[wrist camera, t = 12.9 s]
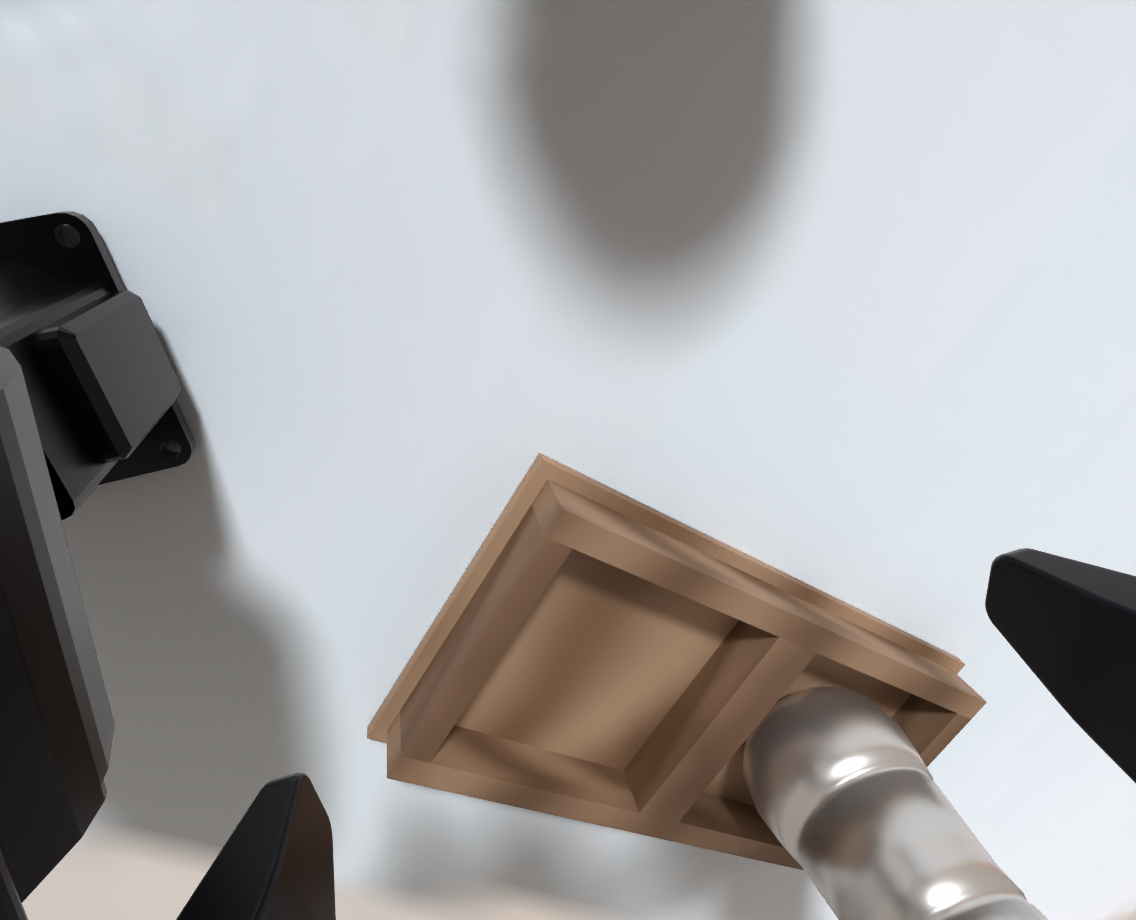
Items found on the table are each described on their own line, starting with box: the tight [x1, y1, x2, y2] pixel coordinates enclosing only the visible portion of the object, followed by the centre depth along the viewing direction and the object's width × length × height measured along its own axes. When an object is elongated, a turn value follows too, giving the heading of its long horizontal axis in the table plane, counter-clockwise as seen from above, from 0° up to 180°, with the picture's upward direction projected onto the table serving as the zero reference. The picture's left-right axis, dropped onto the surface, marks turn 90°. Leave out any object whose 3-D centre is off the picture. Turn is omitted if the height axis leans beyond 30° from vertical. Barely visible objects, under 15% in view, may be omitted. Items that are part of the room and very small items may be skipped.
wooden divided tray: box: [367, 453, 987, 870], centre depth 26 cm, size 23×12×2 cm, turn 58°
